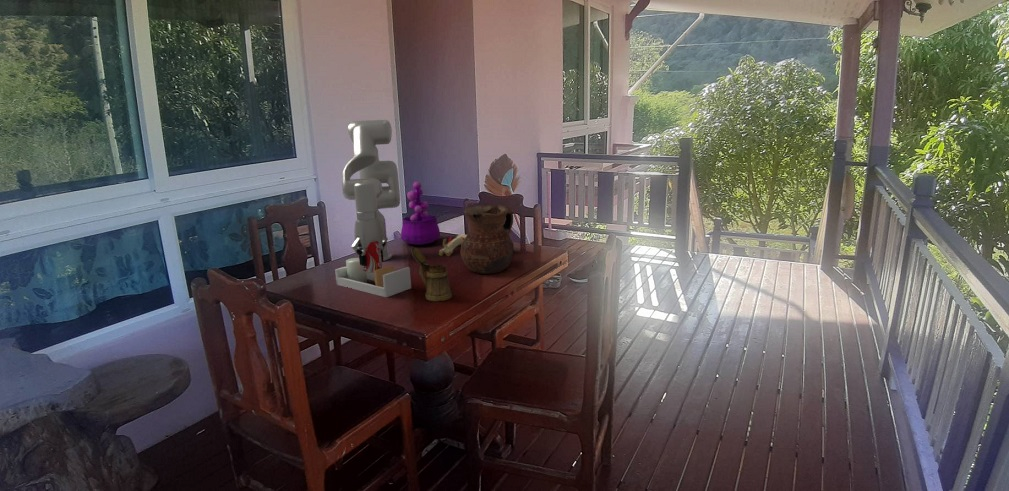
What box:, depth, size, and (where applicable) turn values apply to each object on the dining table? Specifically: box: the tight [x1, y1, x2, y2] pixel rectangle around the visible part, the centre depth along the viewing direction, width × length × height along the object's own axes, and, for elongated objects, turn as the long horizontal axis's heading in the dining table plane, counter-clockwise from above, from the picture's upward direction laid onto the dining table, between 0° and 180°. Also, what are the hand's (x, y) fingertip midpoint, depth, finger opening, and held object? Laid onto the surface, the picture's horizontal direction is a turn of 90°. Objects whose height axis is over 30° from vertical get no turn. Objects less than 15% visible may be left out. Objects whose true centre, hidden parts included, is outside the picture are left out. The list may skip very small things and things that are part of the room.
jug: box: [460, 204, 515, 275], centre depth 233 cm, size 22×21×25 cm
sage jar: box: [345, 257, 368, 284], centre depth 224 cm, size 7×7×9 cm
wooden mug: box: [411, 246, 453, 302], centre depth 203 cm, size 9×14×18 cm, turn 74°
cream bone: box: [437, 233, 468, 257], centre depth 269 cm, size 10×9×25 cm
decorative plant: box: [400, 181, 441, 246], centre depth 280 cm, size 19×18×30 cm
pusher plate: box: [374, 264, 395, 287], centre depth 214 cm, size 1×8×8 cm, turn 143°
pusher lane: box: [334, 266, 412, 298], centre depth 218 cm, size 28×12×8 cm, turn 53°
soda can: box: [363, 240, 383, 273], centre depth 216 cm, size 7×7×12 cm
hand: (371, 262), depth 217 cm, fingers closed on soda can, 7 cm apart
